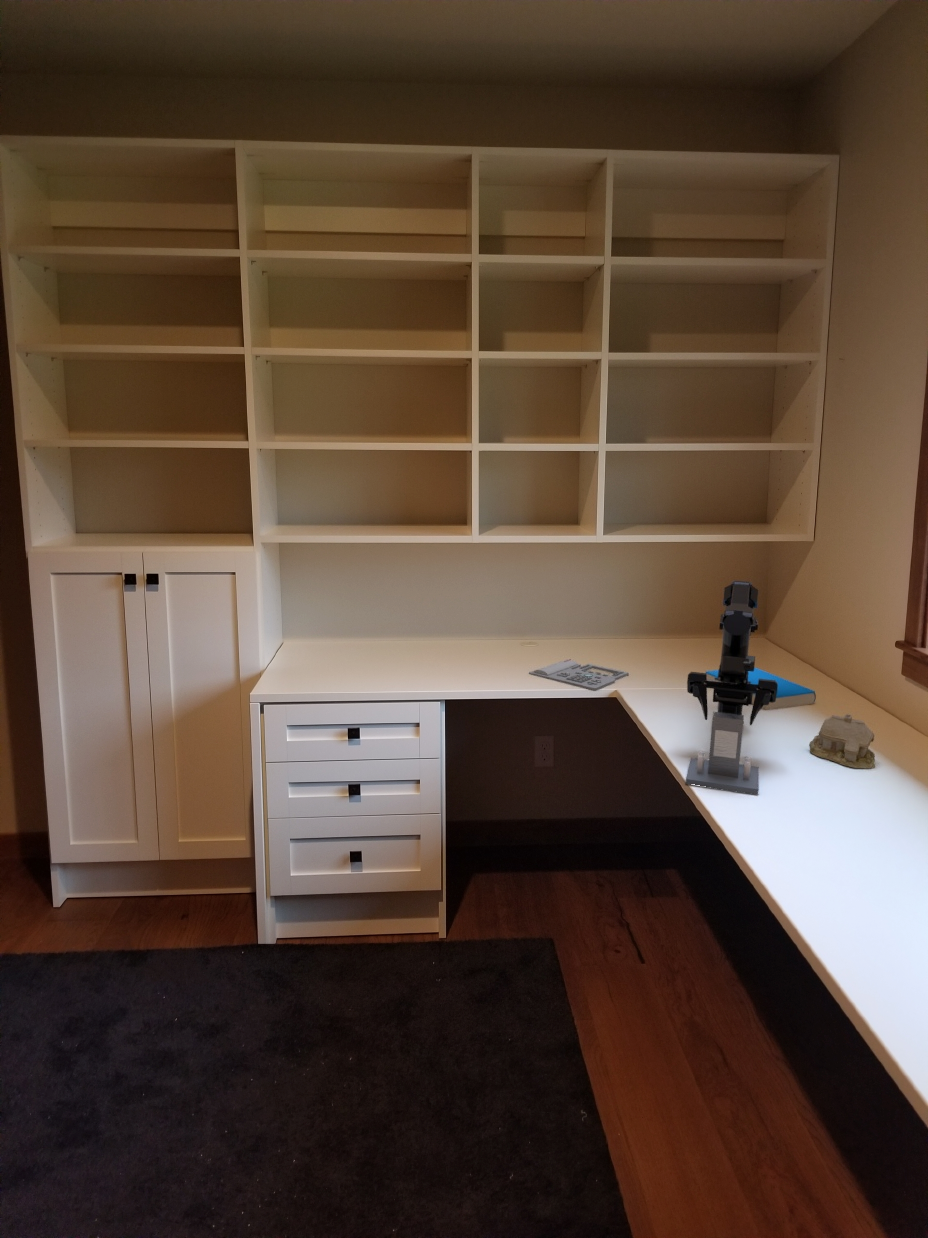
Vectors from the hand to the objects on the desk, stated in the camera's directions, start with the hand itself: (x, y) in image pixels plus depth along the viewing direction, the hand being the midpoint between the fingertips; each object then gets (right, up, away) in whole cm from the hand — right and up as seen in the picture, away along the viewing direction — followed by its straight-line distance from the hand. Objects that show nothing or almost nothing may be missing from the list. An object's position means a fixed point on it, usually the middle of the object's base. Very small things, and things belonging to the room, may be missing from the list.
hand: (728, 721), depth 179 cm
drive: (-3, -10, -6) cm, 12 cm away
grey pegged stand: (-3, -11, -6) cm, 13 cm away
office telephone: (-23, +5, +66) cm, 70 cm away
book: (+24, +1, +51) cm, 57 cm away
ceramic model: (+28, -9, +7) cm, 30 cm away
